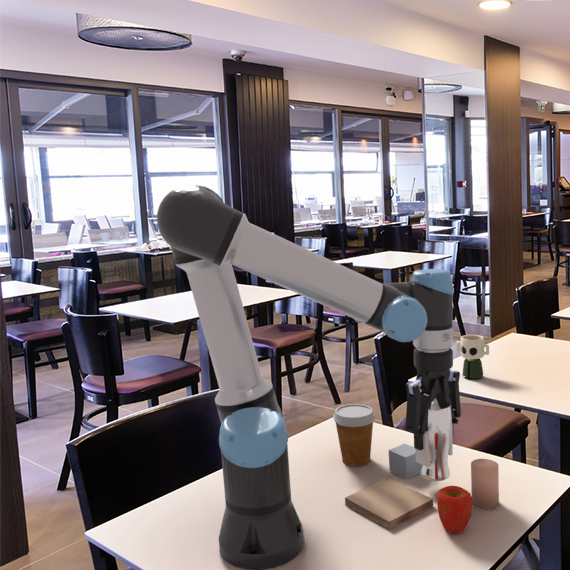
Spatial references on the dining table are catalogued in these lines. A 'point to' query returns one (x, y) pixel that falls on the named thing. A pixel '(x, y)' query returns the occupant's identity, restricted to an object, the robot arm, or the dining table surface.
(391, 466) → the slate block
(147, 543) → the dining table surface
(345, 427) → the disposable coffee cup
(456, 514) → the apple
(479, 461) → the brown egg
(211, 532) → the dining table surface
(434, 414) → the steel tumbler
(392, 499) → the walnut board
